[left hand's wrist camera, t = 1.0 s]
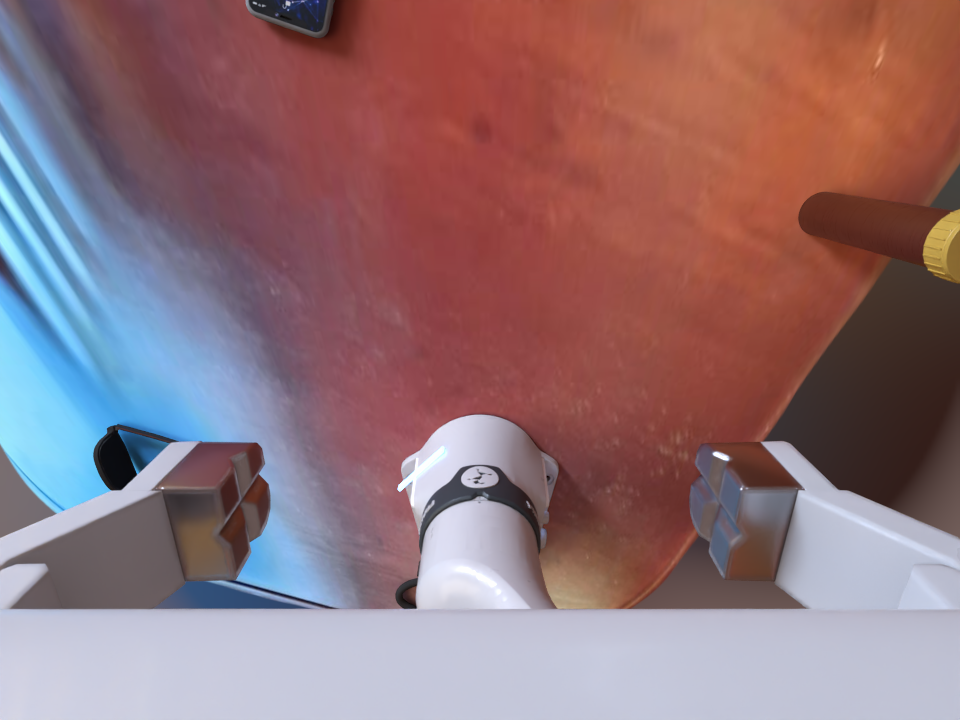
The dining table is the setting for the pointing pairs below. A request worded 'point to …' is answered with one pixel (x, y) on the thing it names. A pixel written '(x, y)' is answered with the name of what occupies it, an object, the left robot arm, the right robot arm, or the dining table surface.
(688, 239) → the dining table surface
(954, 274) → the lid
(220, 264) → the dining table surface
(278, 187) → the dining table surface
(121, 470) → the sunglasses
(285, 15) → the smartphone
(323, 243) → the dining table surface
